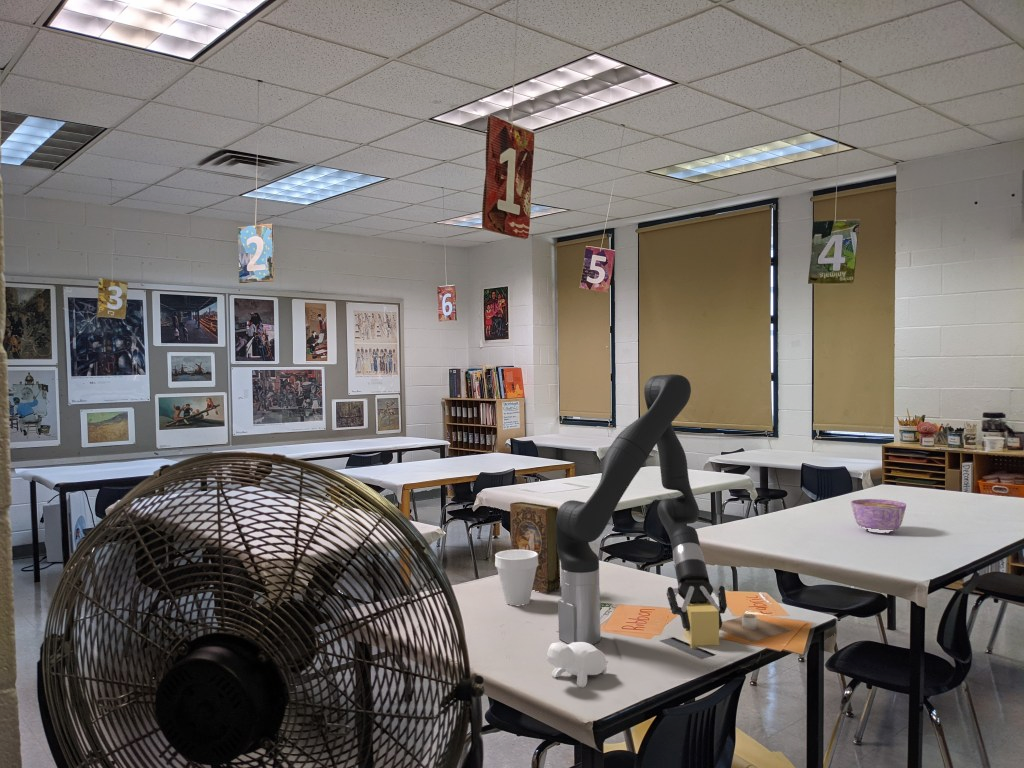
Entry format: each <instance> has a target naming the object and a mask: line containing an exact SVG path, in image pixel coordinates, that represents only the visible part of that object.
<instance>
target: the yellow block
mask: <svg viewBox="0 0 1024 768" xmlns="http://www.w3.org/2000/svg"><path fill="white" fill-rule="evenodd" d="M686 607H687V611H686V612H688V617H689V622H690V630H689V631H686V629H684V637H685V638H686V640H687V641H688V642H687V643H688V644H689V646H690V647H691V649H702V648H700V647H698V646H720V630H719V611H718V610H717V609H716V608H715V607H714V606H712V605H709V604H708V603H695V604H689V605H688V606H686Z"/></svg>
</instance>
